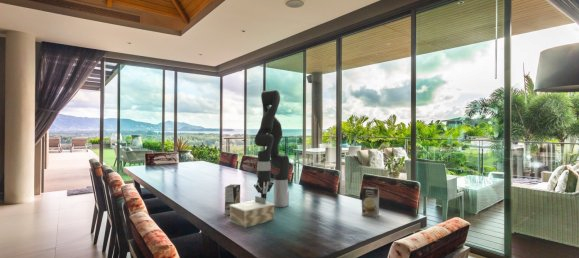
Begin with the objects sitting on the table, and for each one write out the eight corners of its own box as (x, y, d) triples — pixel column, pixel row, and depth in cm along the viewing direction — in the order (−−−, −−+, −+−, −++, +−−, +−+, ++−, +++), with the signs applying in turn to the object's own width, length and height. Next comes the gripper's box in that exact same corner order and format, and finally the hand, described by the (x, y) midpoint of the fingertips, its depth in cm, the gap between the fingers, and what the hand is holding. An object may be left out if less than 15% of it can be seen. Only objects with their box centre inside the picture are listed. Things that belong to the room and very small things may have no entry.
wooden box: (258, 214, 172) (258, 200, 172) (273, 219, 162) (273, 205, 162) (230, 221, 159) (230, 206, 159) (245, 227, 149) (245, 211, 149)
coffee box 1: (234, 215, 170) (235, 187, 170) (224, 214, 172) (224, 186, 172) (240, 210, 179) (240, 184, 179) (230, 210, 181) (230, 183, 181)
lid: (258, 200, 173) (258, 194, 173) (274, 204, 162) (274, 198, 162) (229, 206, 159) (229, 199, 159) (245, 211, 149) (245, 204, 149)
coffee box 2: (361, 215, 172) (361, 187, 172) (363, 212, 178) (363, 185, 178) (377, 217, 168) (377, 189, 168) (379, 214, 174) (379, 187, 174)
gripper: (268, 167, 173) (268, 197, 173) (250, 169, 164) (250, 200, 164) (277, 169, 168) (276, 199, 168) (258, 171, 159) (258, 203, 159)
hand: (263, 200), depth 166 cm, fingers closed
